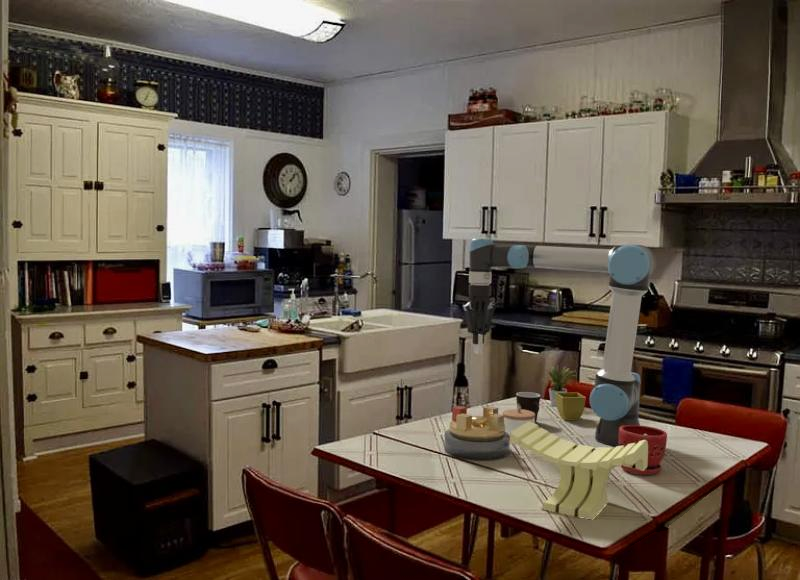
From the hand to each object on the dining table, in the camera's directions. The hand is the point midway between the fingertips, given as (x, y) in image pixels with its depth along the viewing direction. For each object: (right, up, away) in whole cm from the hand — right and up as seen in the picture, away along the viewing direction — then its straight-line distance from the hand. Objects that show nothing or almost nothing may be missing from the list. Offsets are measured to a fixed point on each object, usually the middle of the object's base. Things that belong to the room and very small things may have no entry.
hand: (477, 353), depth 248 cm
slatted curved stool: (+18, -32, -66) cm, 75 cm away
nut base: (-3, -28, -22) cm, 36 cm away
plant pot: (+43, -31, -38) cm, 65 cm away
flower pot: (+36, -26, +20) cm, 48 cm away
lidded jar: (+13, -27, -4) cm, 30 cm away
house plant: (+36, -24, +40) cm, 59 cm away
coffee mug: (+19, -26, +12) cm, 35 cm away
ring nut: (-3, -23, -22) cm, 32 cm away
